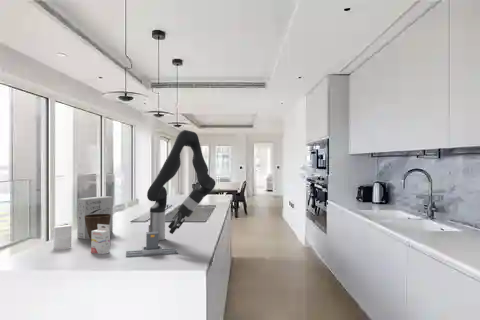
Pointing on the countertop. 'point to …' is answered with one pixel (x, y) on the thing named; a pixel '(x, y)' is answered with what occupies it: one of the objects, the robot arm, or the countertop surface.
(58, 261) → the countertop surface
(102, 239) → the ink cartridge box
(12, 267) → the countertop surface
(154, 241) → the module
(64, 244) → the white box
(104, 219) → the plant pot
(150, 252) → the rail
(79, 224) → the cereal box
